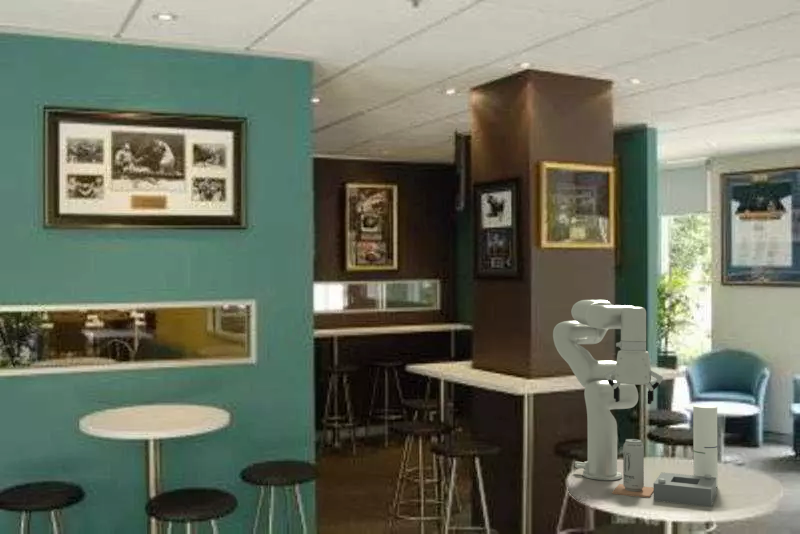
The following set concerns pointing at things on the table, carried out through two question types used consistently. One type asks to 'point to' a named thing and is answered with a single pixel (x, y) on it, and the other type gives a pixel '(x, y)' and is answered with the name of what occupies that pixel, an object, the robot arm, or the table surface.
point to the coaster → (622, 491)
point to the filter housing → (685, 489)
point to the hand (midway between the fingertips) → (633, 402)
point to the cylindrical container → (705, 440)
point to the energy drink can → (633, 465)
